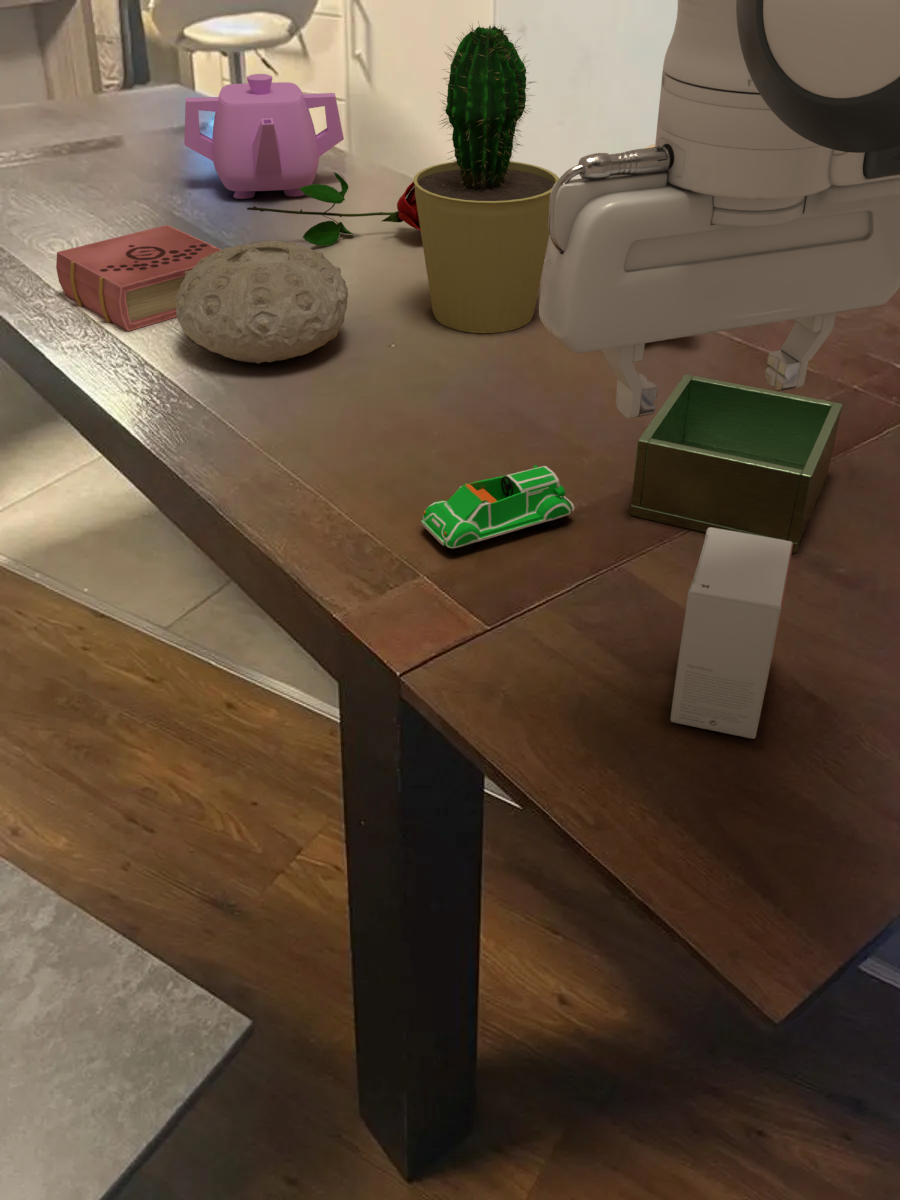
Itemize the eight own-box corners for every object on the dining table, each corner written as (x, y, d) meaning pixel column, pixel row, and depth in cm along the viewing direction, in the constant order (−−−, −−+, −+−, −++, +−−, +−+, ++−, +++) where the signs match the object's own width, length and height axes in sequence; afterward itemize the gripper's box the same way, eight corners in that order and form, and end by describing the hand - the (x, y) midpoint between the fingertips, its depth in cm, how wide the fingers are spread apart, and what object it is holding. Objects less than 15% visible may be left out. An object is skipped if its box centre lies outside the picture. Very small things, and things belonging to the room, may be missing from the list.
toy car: (543, 494, 100) (546, 449, 98) (577, 522, 97) (580, 476, 94) (417, 530, 96) (417, 483, 93) (448, 561, 92) (448, 513, 89)
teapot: (275, 215, 160) (266, 97, 152) (176, 193, 168) (161, 79, 160) (359, 181, 174) (355, 71, 165) (263, 162, 182) (254, 56, 173)
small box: (755, 743, 75) (782, 609, 69) (667, 723, 77) (687, 591, 70) (769, 668, 81) (796, 539, 75) (688, 651, 83) (707, 524, 77)
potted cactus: (513, 352, 124) (525, 41, 107) (388, 323, 130) (380, 24, 113) (575, 304, 135) (595, 15, 117) (457, 279, 141) (460, 1, 124)
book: (58, 296, 136) (49, 253, 133) (172, 265, 145) (167, 224, 142) (121, 333, 128) (113, 288, 125) (239, 298, 136) (234, 255, 133)
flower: (249, 160, 141) (489, 165, 149) (242, 178, 150) (468, 182, 158) (253, 238, 142) (491, 239, 150) (246, 251, 152) (471, 251, 159)
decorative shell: (146, 358, 122) (131, 263, 117) (246, 301, 135) (237, 213, 129) (291, 393, 116) (283, 295, 110) (381, 329, 129) (379, 238, 123)
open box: (827, 476, 103) (843, 403, 99) (795, 554, 93) (811, 476, 89) (675, 444, 108) (684, 373, 104) (629, 515, 98) (637, 440, 93)
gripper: (583, 177, 52) (564, 456, 60) (960, 135, 58) (897, 394, 66) (524, 141, 56) (514, 404, 64) (878, 105, 62) (828, 350, 71)
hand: (710, 398), depth 65 cm, fingers open, 8 cm apart
